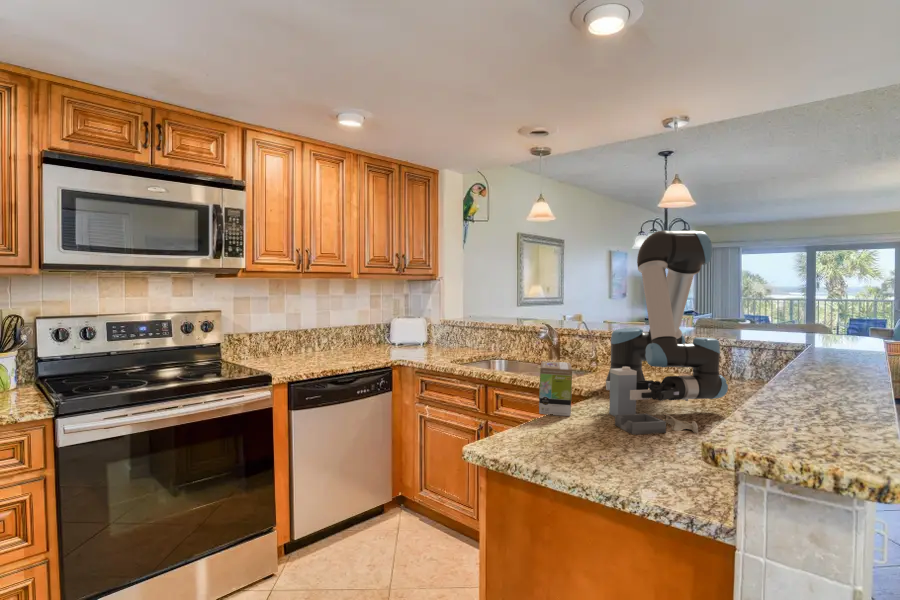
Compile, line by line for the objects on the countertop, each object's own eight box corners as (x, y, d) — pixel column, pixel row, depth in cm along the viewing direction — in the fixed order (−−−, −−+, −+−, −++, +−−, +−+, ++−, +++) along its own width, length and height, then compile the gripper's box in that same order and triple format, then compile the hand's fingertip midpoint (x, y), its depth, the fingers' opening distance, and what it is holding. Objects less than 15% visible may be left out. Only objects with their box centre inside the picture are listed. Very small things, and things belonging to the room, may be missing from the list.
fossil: (675, 434, 133) (675, 421, 133) (661, 422, 144) (661, 411, 144) (701, 435, 133) (701, 422, 133) (685, 423, 144) (686, 412, 144)
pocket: (614, 425, 140) (615, 414, 140) (646, 423, 142) (646, 413, 142) (632, 434, 131) (632, 423, 131) (665, 432, 133) (666, 421, 133)
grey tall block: (609, 413, 153) (610, 366, 152) (626, 412, 154) (627, 365, 153) (617, 417, 148) (618, 368, 147) (635, 417, 149) (636, 368, 148)
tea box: (571, 416, 149) (572, 368, 148) (538, 414, 151) (539, 367, 150) (569, 405, 163) (570, 361, 163) (539, 403, 165) (540, 360, 165)
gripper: (707, 409, 142) (641, 412, 138) (654, 391, 166) (597, 393, 162) (707, 383, 142) (642, 386, 137) (654, 369, 166) (598, 371, 162)
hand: (617, 390), depth 150 cm, fingers open, 13 cm apart
